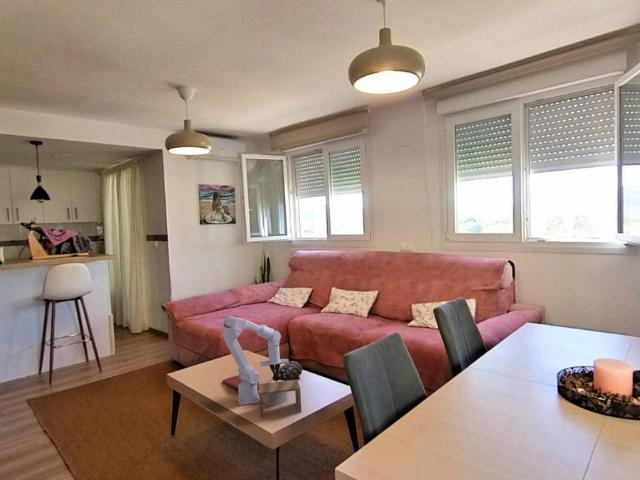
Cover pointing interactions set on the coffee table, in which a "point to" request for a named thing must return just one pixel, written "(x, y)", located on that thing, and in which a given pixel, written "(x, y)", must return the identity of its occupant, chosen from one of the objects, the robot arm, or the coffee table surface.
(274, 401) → the lumpy-topped squat cylinder
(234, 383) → the carton
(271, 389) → the walnut shelf
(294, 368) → the pine cone
